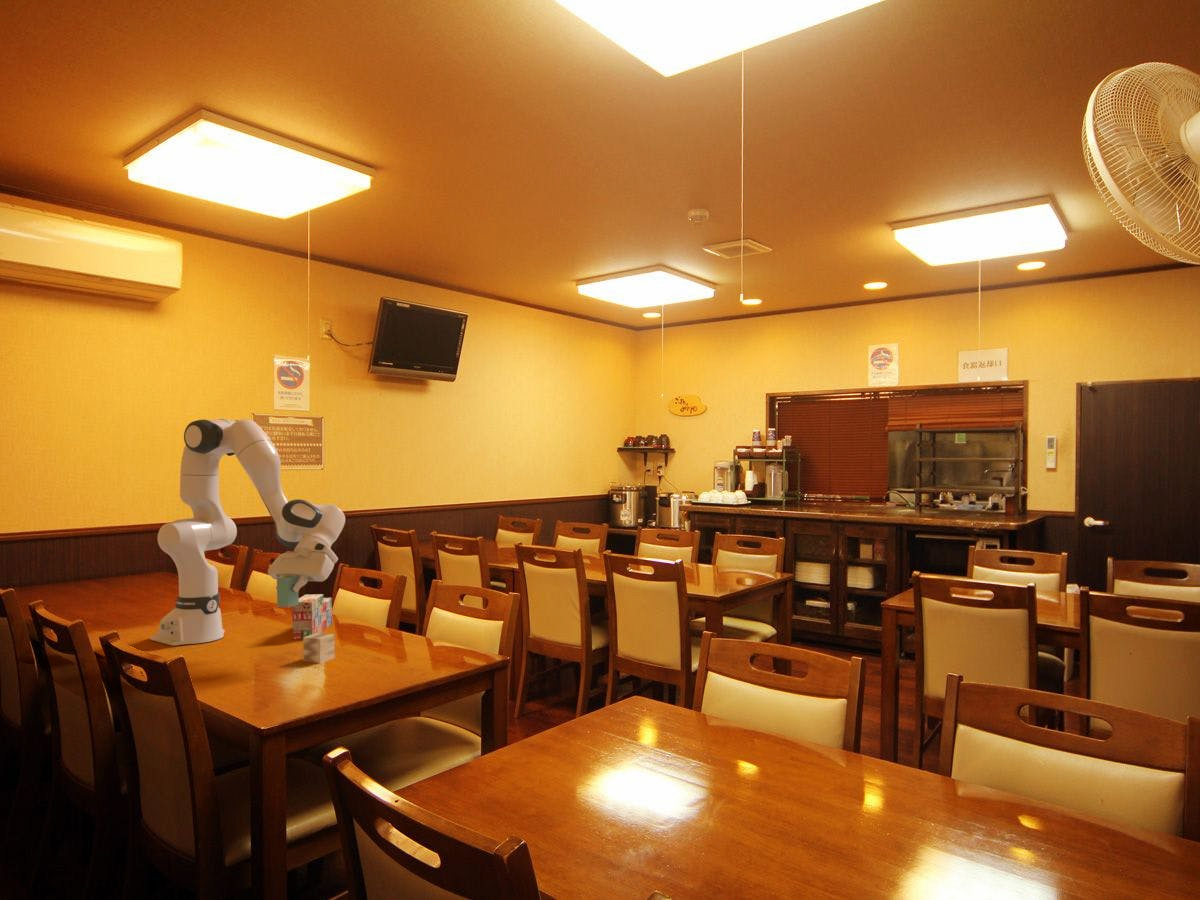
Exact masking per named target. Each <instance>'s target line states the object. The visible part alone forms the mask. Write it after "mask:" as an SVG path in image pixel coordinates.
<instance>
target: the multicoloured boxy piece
mask: <svg viewBox="0 0 1200 900" xmlns="http://www.w3.org/2000/svg"><path fill="white" fill-rule="evenodd" d="M298 600H299V605H295V606H292V614H291V615H292V640H303V637H306V636H310V635H313V634H316V633H323V631H324V630H326V629H327V628H328V627H330V626H332V624H333V607H332V605H333V604H332V603H333V602H332V600H333V598H332V597H324V594H322V593H320V594H319V593H317V594H303V596H301V597H298ZM294 638H296V639H294Z"/></svg>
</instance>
